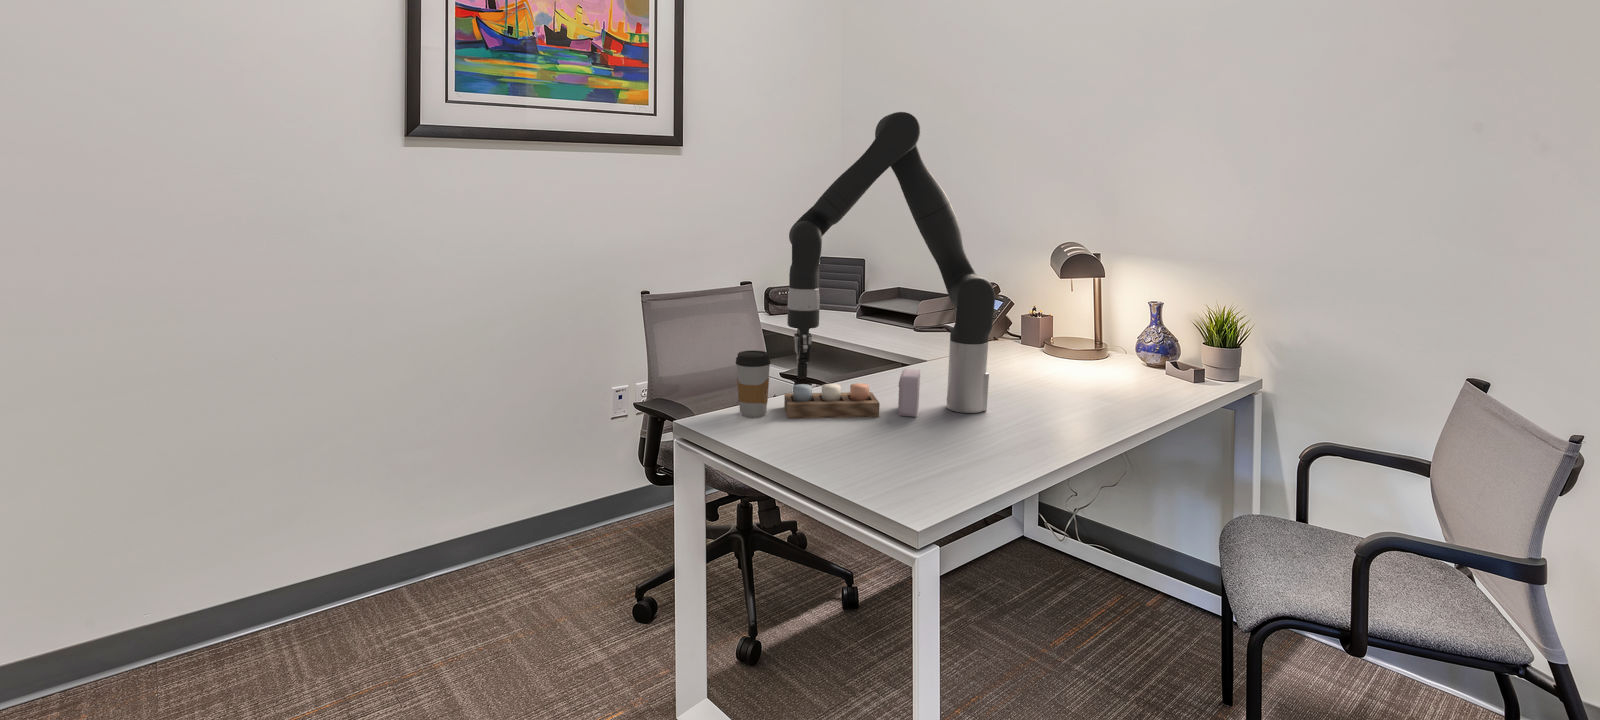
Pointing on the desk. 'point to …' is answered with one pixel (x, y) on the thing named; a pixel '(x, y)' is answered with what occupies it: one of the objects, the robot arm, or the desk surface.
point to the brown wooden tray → (831, 407)
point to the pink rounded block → (859, 392)
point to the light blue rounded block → (802, 392)
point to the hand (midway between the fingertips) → (801, 377)
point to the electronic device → (909, 392)
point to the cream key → (831, 392)
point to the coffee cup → (753, 382)
